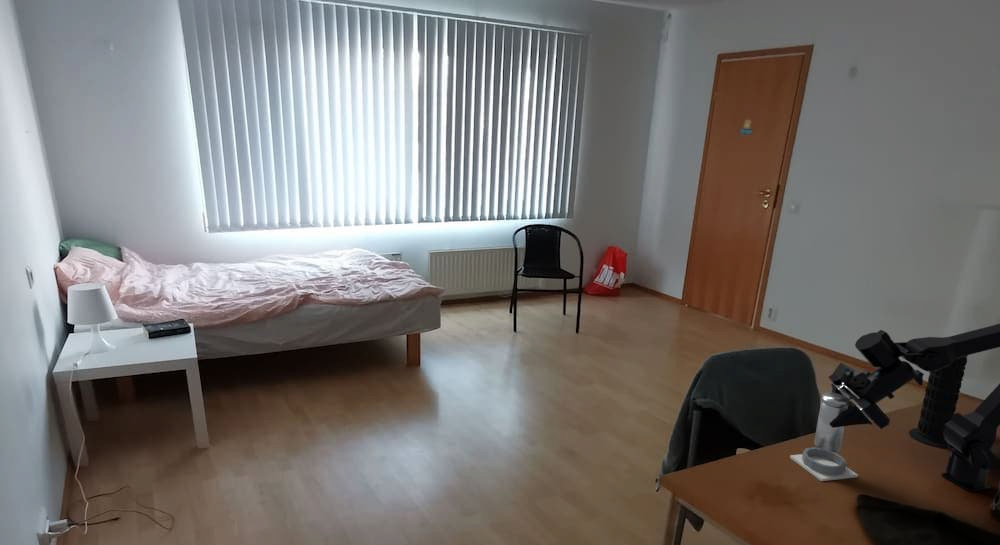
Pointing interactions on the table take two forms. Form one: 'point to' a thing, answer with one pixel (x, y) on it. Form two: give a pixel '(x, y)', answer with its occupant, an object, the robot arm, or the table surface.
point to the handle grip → (939, 403)
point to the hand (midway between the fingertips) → (825, 420)
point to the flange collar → (824, 464)
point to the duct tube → (829, 411)
